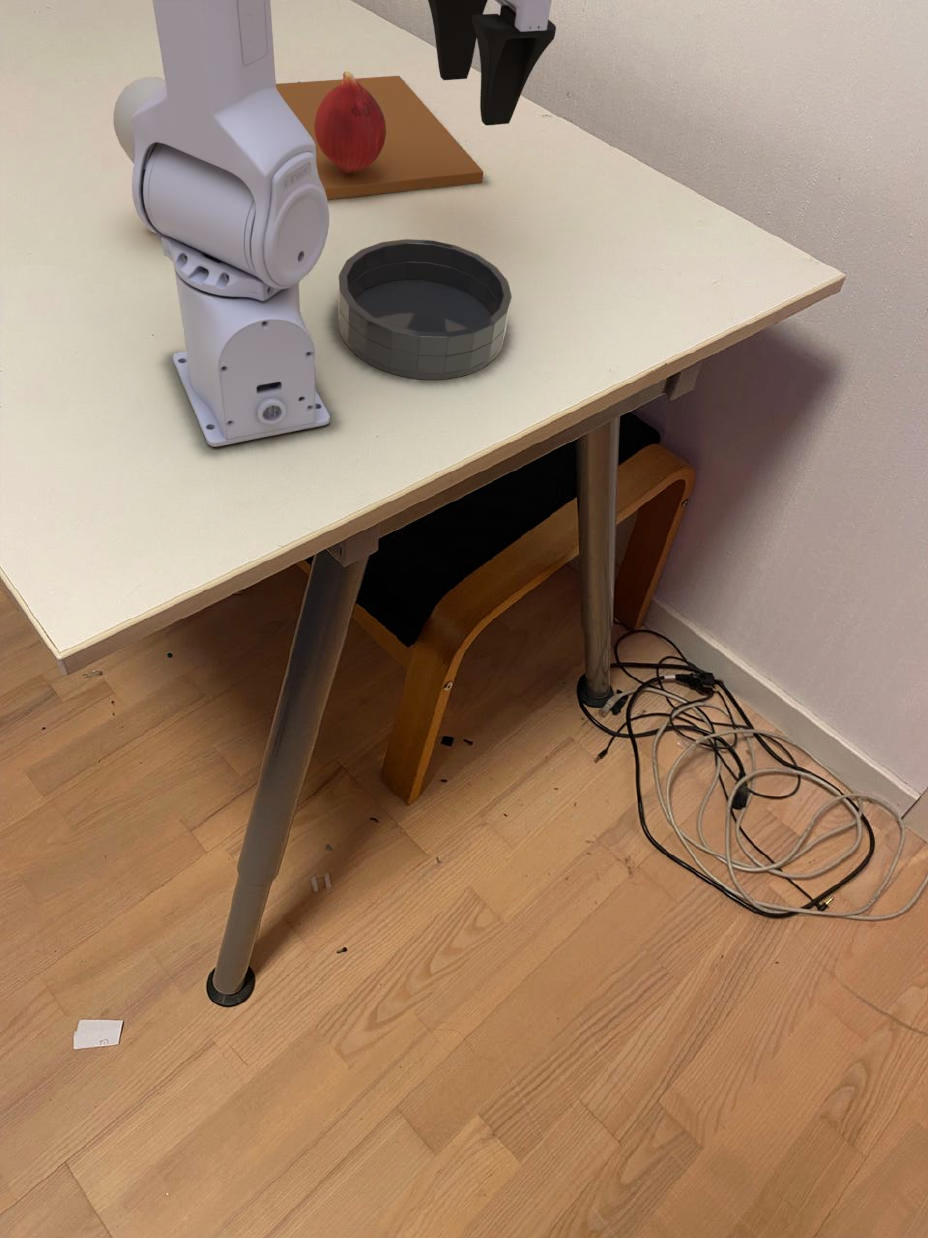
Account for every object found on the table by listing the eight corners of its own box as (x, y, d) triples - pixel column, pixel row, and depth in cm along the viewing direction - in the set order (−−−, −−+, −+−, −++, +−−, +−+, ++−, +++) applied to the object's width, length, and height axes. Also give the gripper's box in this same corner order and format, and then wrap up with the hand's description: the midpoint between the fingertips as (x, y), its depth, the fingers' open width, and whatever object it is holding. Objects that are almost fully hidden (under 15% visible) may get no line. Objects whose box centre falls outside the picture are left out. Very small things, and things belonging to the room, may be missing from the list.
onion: (388, 163, 81) (393, 64, 74) (377, 195, 77) (382, 93, 71) (322, 152, 80) (321, 52, 74) (308, 183, 77) (307, 81, 71)
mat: (482, 182, 82) (483, 171, 82) (311, 201, 77) (311, 189, 76) (398, 85, 93) (399, 74, 92) (243, 96, 88) (242, 85, 87)
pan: (531, 363, 67) (540, 321, 64) (374, 393, 62) (376, 349, 60) (462, 271, 73) (467, 230, 70) (315, 293, 69) (315, 250, 66)
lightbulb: (134, 253, 69) (107, 99, 61) (130, 211, 73) (104, 60, 64) (217, 250, 71) (202, 100, 62) (209, 209, 74) (194, 62, 66)
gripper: (607, -86, 57) (564, 139, 67) (505, -155, 65) (480, 56, 75) (507, -86, 54) (478, 147, 65) (413, -158, 62) (400, 61, 73)
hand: (474, 99), depth 70 cm, fingers open, 7 cm apart
